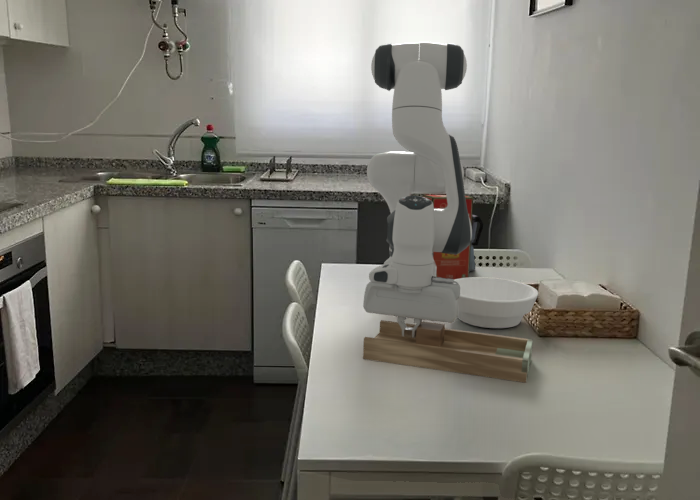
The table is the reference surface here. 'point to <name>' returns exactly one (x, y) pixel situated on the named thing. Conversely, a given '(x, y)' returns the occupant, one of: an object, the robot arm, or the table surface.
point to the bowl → (494, 301)
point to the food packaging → (452, 263)
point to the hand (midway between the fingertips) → (409, 336)
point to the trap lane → (454, 352)
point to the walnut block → (430, 334)
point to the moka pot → (474, 225)
